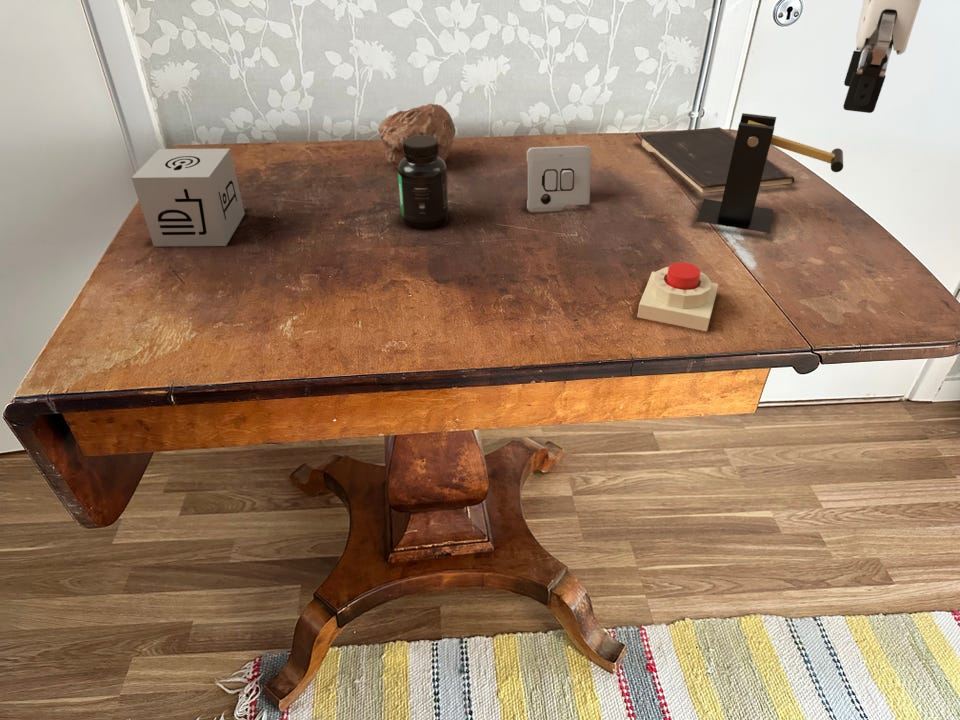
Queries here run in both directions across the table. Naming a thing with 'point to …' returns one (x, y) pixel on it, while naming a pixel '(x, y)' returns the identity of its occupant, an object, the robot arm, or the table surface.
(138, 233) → the table surface
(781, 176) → the hardcover book
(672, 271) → the button
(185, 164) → the icon cube
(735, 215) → the bracket
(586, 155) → the electrical switch
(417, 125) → the decorative rock
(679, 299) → the switch box
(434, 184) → the supplement bottle
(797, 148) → the lever
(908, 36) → the robot arm
